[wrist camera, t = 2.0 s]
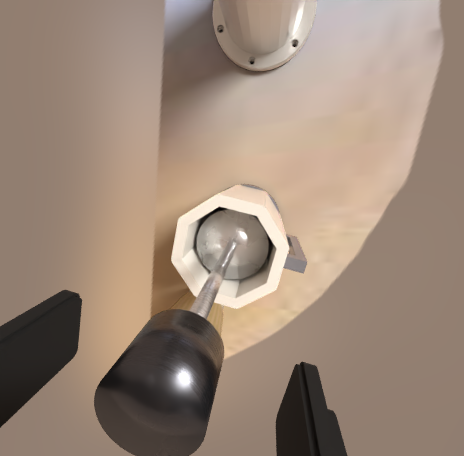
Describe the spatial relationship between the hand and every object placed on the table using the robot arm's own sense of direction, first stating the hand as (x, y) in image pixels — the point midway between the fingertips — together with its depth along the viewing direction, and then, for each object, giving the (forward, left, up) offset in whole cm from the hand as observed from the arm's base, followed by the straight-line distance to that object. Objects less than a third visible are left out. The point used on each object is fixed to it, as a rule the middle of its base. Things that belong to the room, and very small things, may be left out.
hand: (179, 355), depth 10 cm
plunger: (0, 0, -16) cm, 16 cm away
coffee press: (0, 0, -28) cm, 28 cm away
